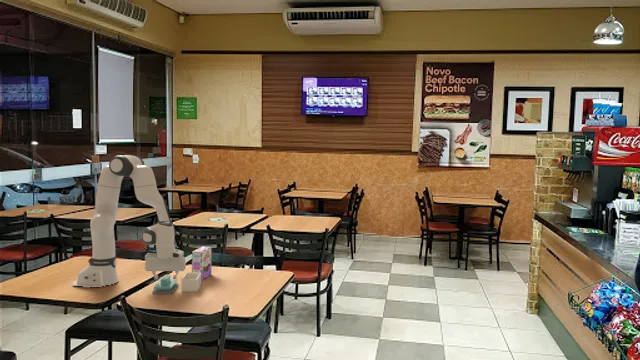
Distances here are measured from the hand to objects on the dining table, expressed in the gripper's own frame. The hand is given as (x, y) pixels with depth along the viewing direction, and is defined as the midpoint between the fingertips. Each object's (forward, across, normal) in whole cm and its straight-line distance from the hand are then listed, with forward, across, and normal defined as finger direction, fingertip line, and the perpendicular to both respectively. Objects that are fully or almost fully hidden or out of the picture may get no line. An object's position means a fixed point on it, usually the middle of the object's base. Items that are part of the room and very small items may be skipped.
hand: (165, 279), depth 249 cm
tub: (+6, +13, +1) cm, 14 cm away
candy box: (+6, +15, +22) cm, 27 cm away
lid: (+4, 0, 0) cm, 4 cm away
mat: (+6, 0, 0) cm, 6 cm away
